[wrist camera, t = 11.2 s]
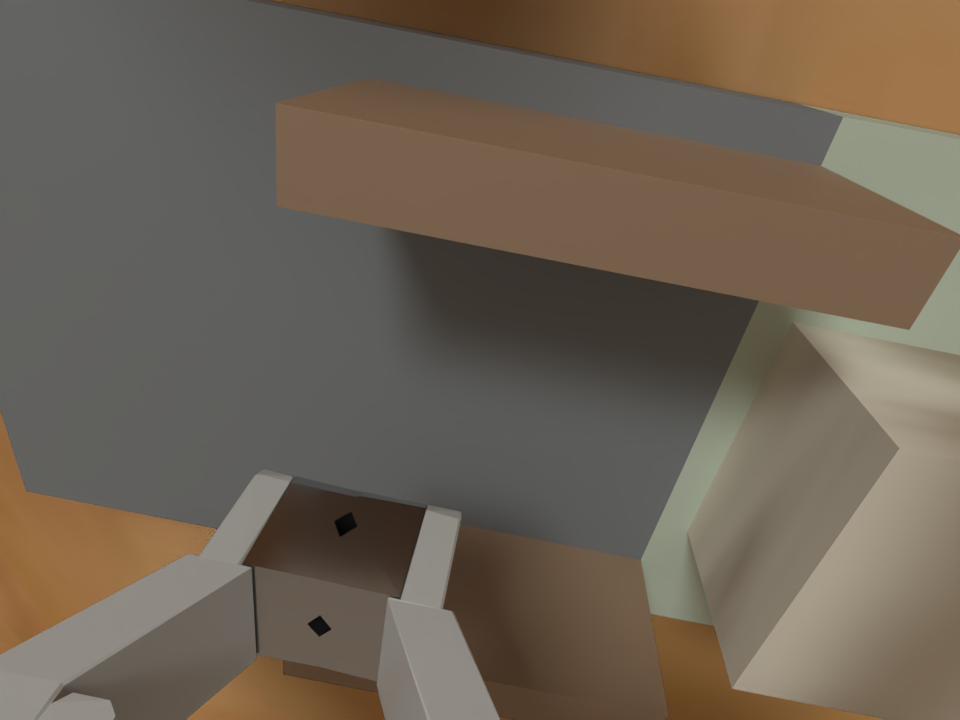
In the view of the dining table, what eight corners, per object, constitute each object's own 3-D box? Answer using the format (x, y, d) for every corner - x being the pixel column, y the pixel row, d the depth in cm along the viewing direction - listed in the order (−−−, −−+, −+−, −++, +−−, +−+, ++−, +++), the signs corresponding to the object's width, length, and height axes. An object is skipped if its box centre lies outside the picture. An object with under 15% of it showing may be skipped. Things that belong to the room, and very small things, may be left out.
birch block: (1088, 380, 11) (1323, 531, 8) (920, 577, 14) (1038, 749, 11) (792, 321, 11) (900, 449, 8) (687, 531, 14) (731, 688, 11)
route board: (1600, 259, 11) (2497, 455, 6) (1117, 651, 18) (1351, 905, 13) (-51, -62, 11) (-551, -139, 6) (76, 446, 18) (-115, 615, 13)
